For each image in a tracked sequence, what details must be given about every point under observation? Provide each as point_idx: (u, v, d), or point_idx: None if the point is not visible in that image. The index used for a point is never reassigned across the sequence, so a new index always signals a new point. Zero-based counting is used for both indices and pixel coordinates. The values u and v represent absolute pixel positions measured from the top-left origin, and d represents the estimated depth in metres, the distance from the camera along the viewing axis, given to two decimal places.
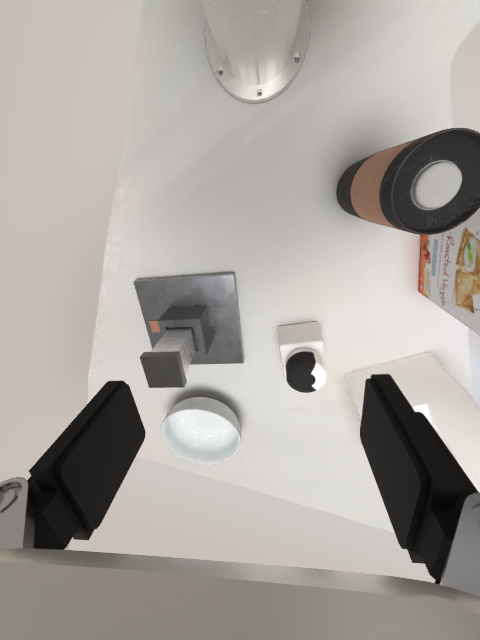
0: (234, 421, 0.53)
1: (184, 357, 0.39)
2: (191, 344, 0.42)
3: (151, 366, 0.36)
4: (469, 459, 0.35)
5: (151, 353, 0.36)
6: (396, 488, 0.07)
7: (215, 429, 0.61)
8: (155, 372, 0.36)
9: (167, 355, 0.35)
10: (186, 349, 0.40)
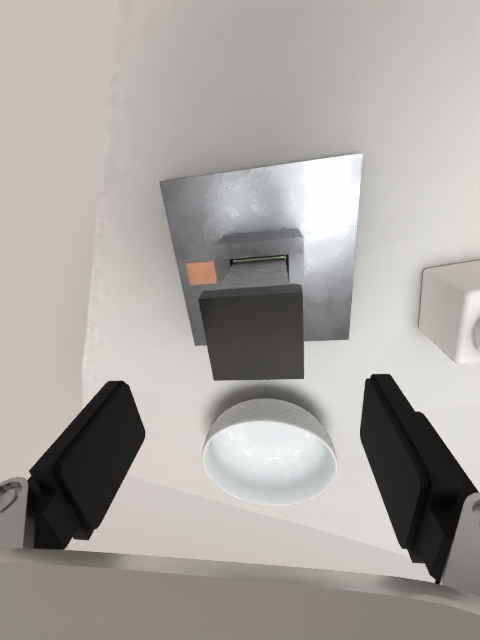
0: (329, 440, 0.31)
1: None
2: None
3: (226, 324, 0.14)
4: None
5: (225, 291, 0.14)
6: (396, 488, 0.07)
7: (281, 448, 0.39)
8: (235, 341, 0.14)
9: (272, 292, 0.13)
10: None
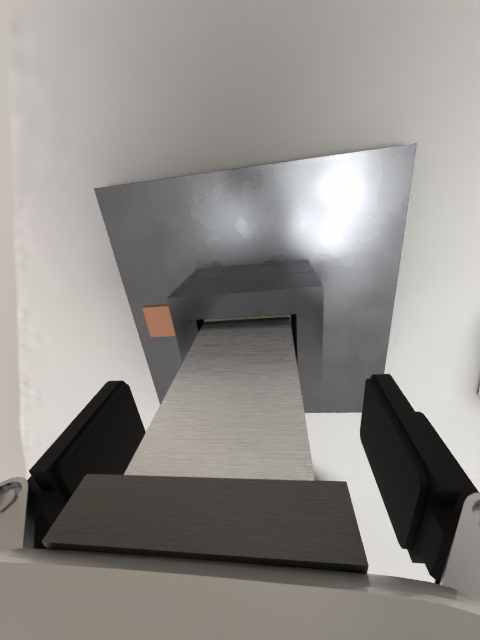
0: None
1: None
2: None
3: None
4: None
5: (136, 493, 0.05)
6: (396, 488, 0.07)
7: None
8: None
9: (266, 538, 0.04)
10: None
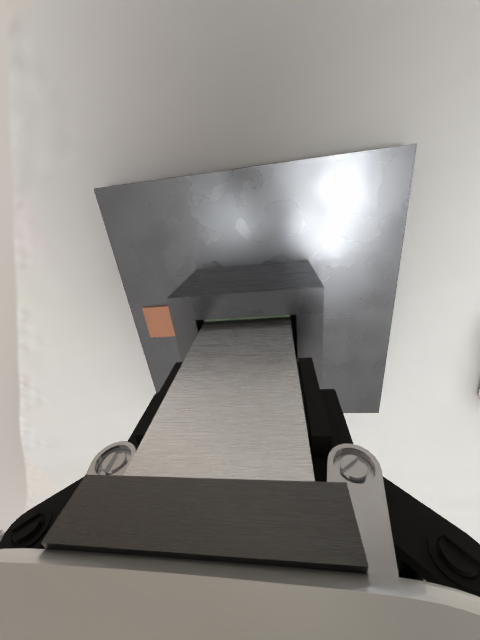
0: None
1: None
2: None
3: None
4: None
5: (136, 494, 0.05)
6: None
7: None
8: None
9: (266, 539, 0.04)
10: None
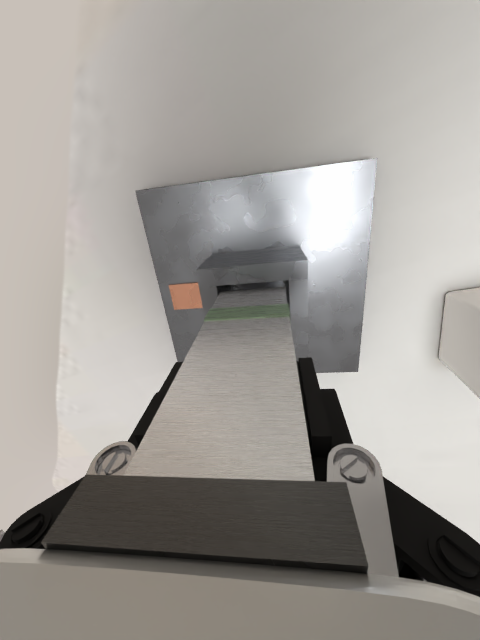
0: None
1: None
2: None
3: None
4: None
5: (136, 494, 0.05)
6: None
7: None
8: None
9: (266, 539, 0.04)
10: None
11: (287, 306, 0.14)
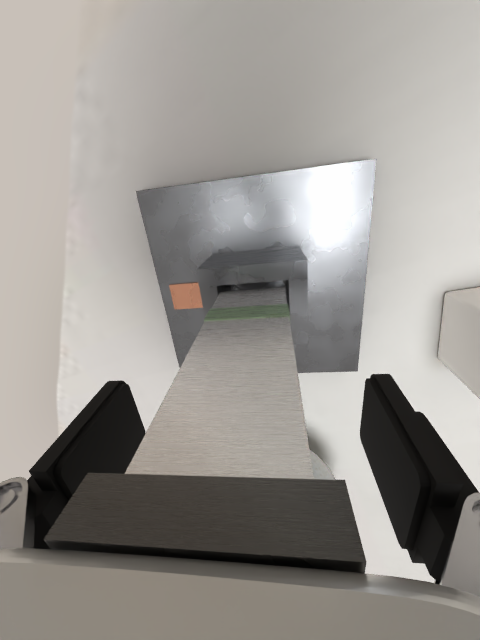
0: None
1: None
2: None
3: None
4: None
5: (137, 491, 0.05)
6: (396, 488, 0.07)
7: None
8: None
9: (265, 534, 0.04)
10: None
11: (287, 306, 0.14)
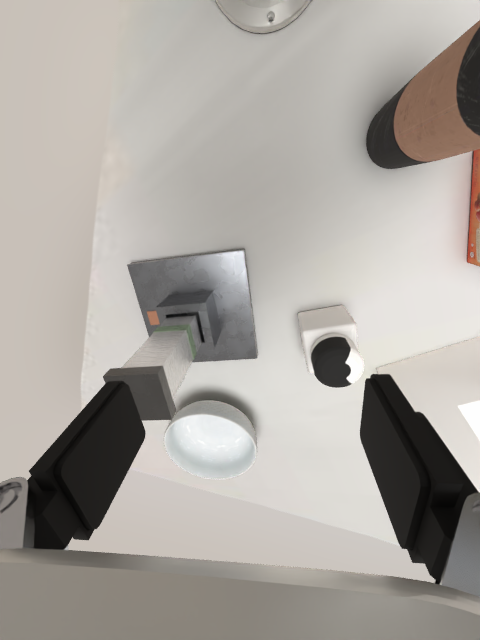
0: (249, 427, 0.46)
1: (172, 374, 0.27)
2: (184, 355, 0.30)
3: None
4: None
5: (121, 370, 0.24)
6: (396, 488, 0.07)
7: (226, 438, 0.53)
8: None
9: (143, 372, 0.23)
10: (176, 362, 0.28)
11: (188, 325, 0.33)
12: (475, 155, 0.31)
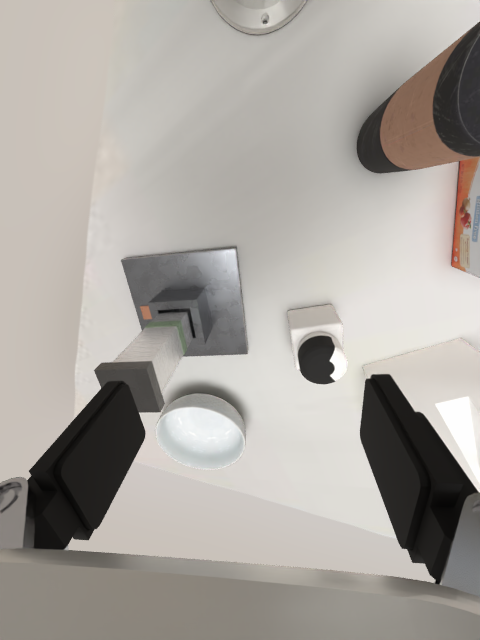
0: (238, 420, 0.47)
1: (161, 369, 0.28)
2: (174, 350, 0.31)
3: None
4: None
5: (111, 364, 0.25)
6: (396, 488, 0.07)
7: (216, 430, 0.55)
8: None
9: (133, 367, 0.24)
10: (165, 357, 0.29)
11: (179, 321, 0.34)
12: (461, 162, 0.32)
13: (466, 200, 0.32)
